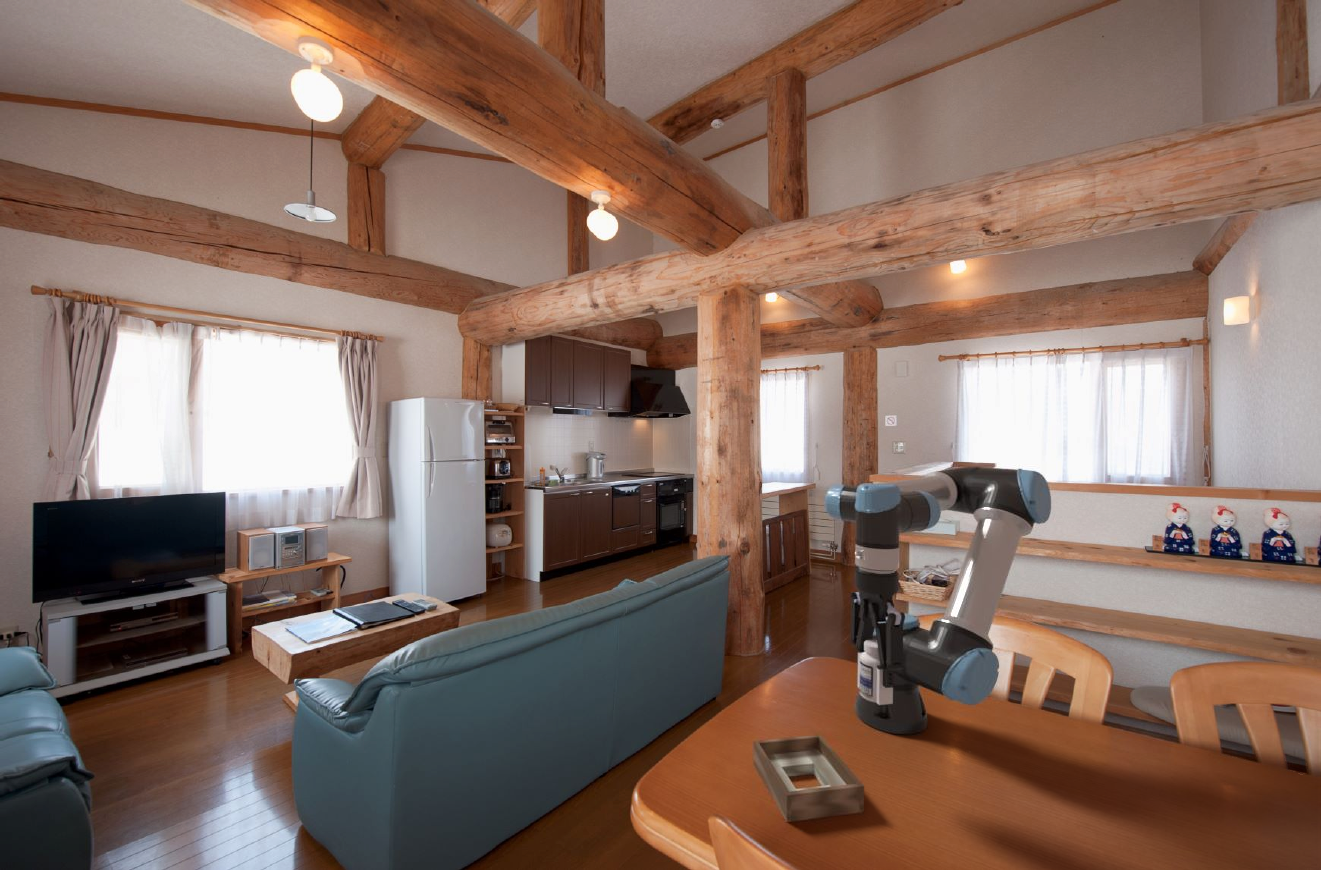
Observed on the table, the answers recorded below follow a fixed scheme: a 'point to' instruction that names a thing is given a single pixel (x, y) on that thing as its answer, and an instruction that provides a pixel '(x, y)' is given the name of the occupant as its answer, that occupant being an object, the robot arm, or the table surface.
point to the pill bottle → (869, 670)
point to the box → (805, 758)
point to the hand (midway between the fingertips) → (874, 694)
